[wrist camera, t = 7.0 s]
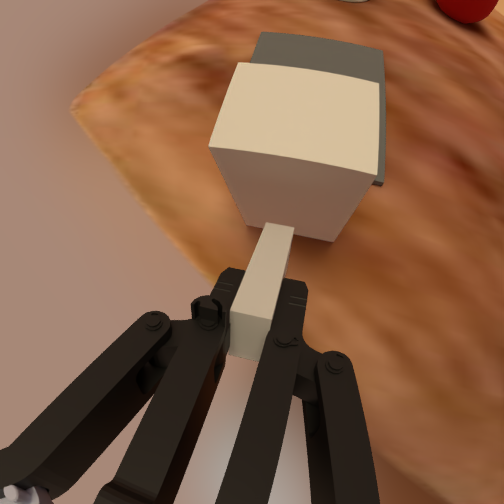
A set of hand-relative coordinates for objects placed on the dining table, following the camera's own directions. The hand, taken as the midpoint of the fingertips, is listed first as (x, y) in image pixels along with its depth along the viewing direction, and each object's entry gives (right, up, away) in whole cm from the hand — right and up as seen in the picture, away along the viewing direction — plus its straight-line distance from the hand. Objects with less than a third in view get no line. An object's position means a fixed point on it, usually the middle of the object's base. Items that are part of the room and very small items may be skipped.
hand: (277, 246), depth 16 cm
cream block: (+3, +4, +11) cm, 12 cm away
